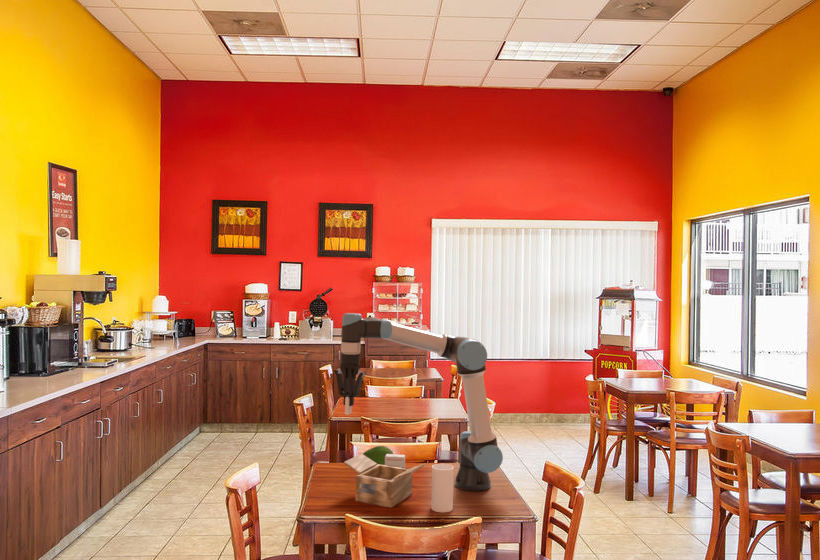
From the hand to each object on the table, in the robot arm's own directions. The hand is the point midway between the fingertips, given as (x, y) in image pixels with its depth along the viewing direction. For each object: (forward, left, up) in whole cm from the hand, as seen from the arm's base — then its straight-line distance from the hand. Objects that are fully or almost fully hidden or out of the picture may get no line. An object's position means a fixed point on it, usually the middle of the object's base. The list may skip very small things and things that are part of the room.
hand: (348, 413), depth 241 cm
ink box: (-4, -33, -35) cm, 48 cm away
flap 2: (-17, -14, -24) cm, 33 cm away
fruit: (+13, -49, -35) cm, 61 cm away
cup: (-34, -14, -35) cm, 51 cm away
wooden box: (-9, -14, -35) cm, 39 cm away
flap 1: (-2, -14, -24) cm, 28 cm away
